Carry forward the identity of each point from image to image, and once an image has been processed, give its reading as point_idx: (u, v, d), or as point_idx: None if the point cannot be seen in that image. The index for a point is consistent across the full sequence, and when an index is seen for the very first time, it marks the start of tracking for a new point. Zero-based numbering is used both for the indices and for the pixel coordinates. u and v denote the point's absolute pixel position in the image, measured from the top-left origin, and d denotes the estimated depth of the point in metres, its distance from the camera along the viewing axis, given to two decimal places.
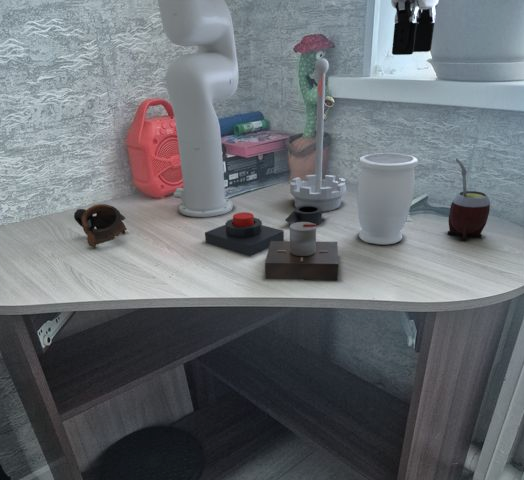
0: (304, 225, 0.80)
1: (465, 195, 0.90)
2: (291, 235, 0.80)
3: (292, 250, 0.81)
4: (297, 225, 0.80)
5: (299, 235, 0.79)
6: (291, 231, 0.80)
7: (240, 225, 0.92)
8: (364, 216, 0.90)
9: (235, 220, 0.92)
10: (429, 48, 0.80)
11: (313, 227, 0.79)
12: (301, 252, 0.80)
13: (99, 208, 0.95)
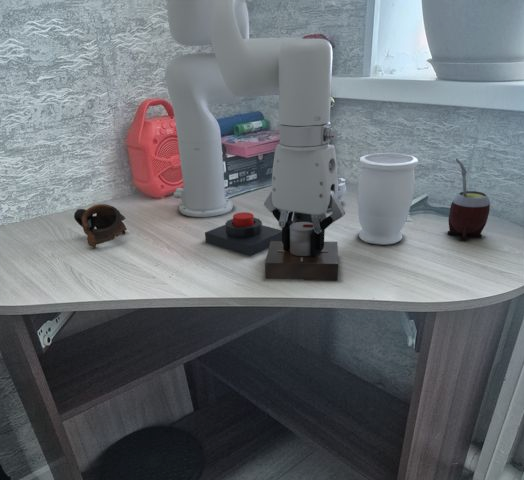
0: (304, 225, 0.80)
1: (465, 195, 0.90)
2: (291, 235, 0.80)
3: (292, 250, 0.81)
4: (297, 225, 0.80)
5: (299, 235, 0.79)
6: (291, 231, 0.80)
7: (240, 225, 0.92)
8: (364, 216, 0.90)
9: (235, 220, 0.92)
10: (311, 253, 0.80)
11: (313, 227, 0.79)
12: (301, 252, 0.80)
13: (99, 208, 0.95)
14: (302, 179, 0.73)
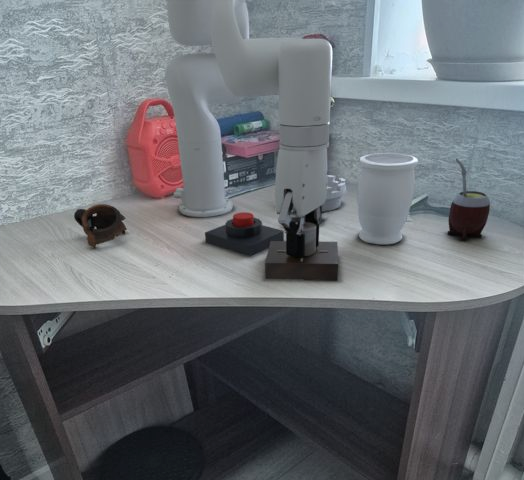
0: (304, 224, 0.80)
1: (465, 195, 0.90)
2: (309, 237, 0.79)
3: (311, 250, 0.81)
4: None
5: (315, 231, 0.80)
6: (309, 233, 0.79)
7: (240, 225, 0.92)
8: (364, 216, 0.90)
9: (235, 220, 0.92)
10: (316, 245, 0.83)
11: (307, 222, 0.81)
12: (315, 247, 0.82)
13: (99, 208, 0.95)
14: (320, 174, 0.75)
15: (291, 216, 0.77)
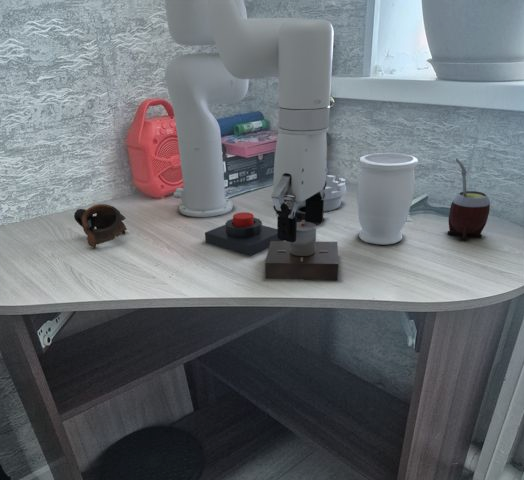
0: (304, 224, 0.80)
1: (465, 195, 0.90)
2: (309, 237, 0.79)
3: (311, 250, 0.81)
4: (302, 227, 0.79)
5: (315, 231, 0.80)
6: (309, 233, 0.79)
7: (240, 225, 0.92)
8: (364, 216, 0.90)
9: (235, 220, 0.92)
10: (320, 221, 0.83)
11: (307, 222, 0.81)
12: (315, 247, 0.82)
13: (99, 208, 0.95)
14: (320, 159, 0.74)
15: (286, 198, 0.74)
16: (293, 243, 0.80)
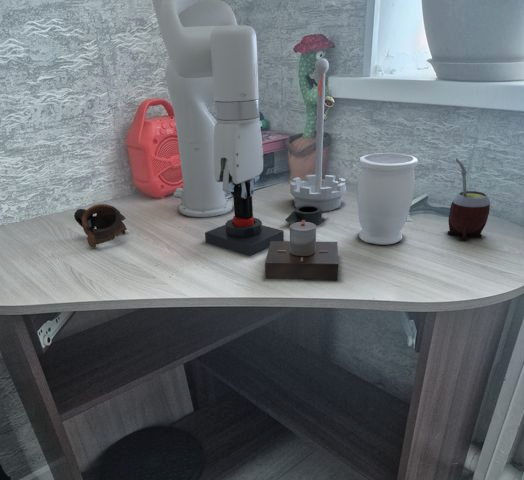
0: (304, 224, 0.80)
1: (465, 195, 0.90)
2: (309, 237, 0.79)
3: (311, 250, 0.81)
4: (302, 227, 0.79)
5: (315, 231, 0.80)
6: (309, 233, 0.79)
7: (240, 226, 0.92)
8: (364, 216, 0.90)
9: (235, 221, 0.92)
10: (250, 215, 0.92)
11: (307, 222, 0.81)
12: (315, 247, 0.82)
13: (99, 208, 0.95)
14: (254, 146, 0.85)
15: (233, 183, 0.88)
16: (293, 243, 0.80)
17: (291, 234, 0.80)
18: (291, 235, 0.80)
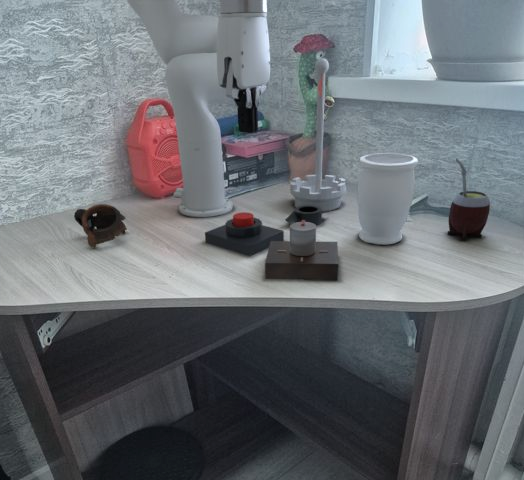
0: (304, 224, 0.80)
1: (465, 195, 0.90)
2: (309, 237, 0.79)
3: (311, 250, 0.81)
4: (302, 227, 0.79)
5: (315, 231, 0.80)
6: (309, 233, 0.79)
7: (240, 225, 0.92)
8: (364, 216, 0.90)
9: (235, 220, 0.92)
10: (255, 129, 0.86)
11: (307, 222, 0.81)
12: (315, 247, 0.82)
13: (99, 208, 0.95)
14: (261, 48, 0.79)
15: (238, 90, 0.81)
16: (293, 243, 0.80)
17: (291, 234, 0.80)
18: (291, 235, 0.80)
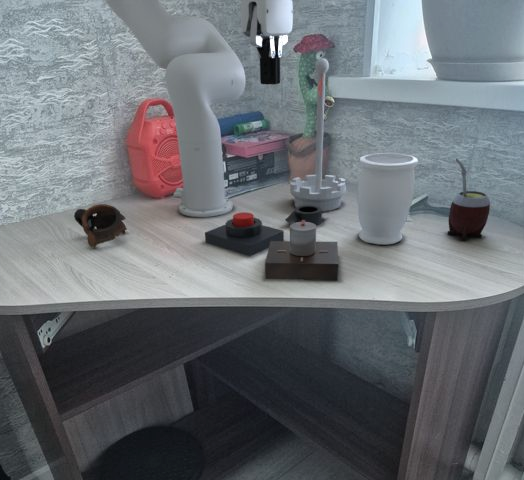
0: (304, 224, 0.80)
1: (465, 195, 0.90)
2: (309, 237, 0.79)
3: (311, 250, 0.81)
4: (302, 227, 0.79)
5: (315, 231, 0.80)
6: (309, 233, 0.79)
7: (240, 225, 0.92)
8: (364, 216, 0.90)
9: (235, 220, 0.92)
10: (278, 81, 0.85)
11: (307, 222, 0.81)
12: (315, 247, 0.82)
13: (99, 208, 0.95)
14: None
15: None
16: (293, 243, 0.80)
17: (291, 234, 0.80)
18: (291, 235, 0.80)
